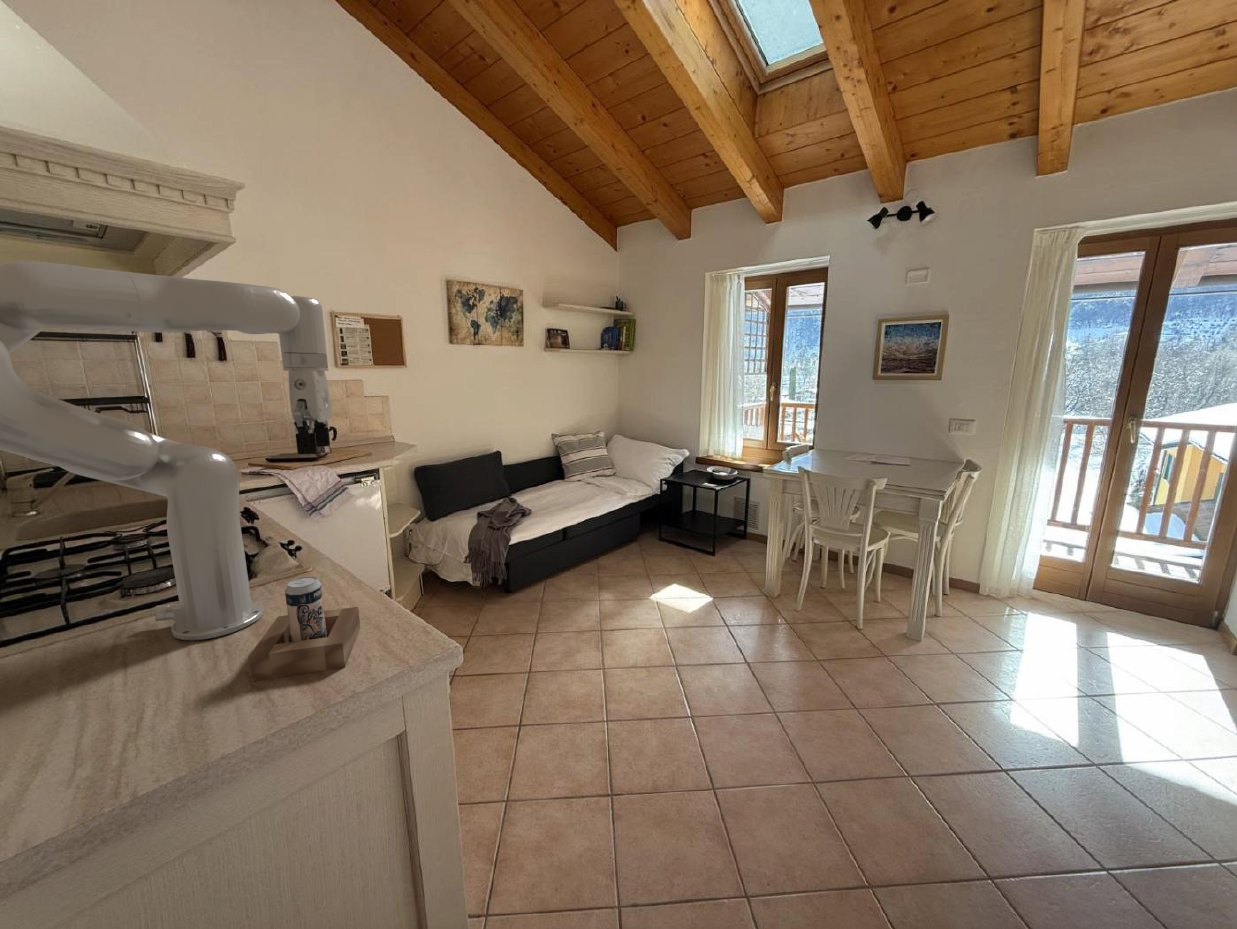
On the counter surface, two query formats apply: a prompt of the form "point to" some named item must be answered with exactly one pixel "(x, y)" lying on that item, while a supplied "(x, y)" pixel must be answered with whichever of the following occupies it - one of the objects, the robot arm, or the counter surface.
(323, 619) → the beer can
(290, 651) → the walnut socket block
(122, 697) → the counter surface
